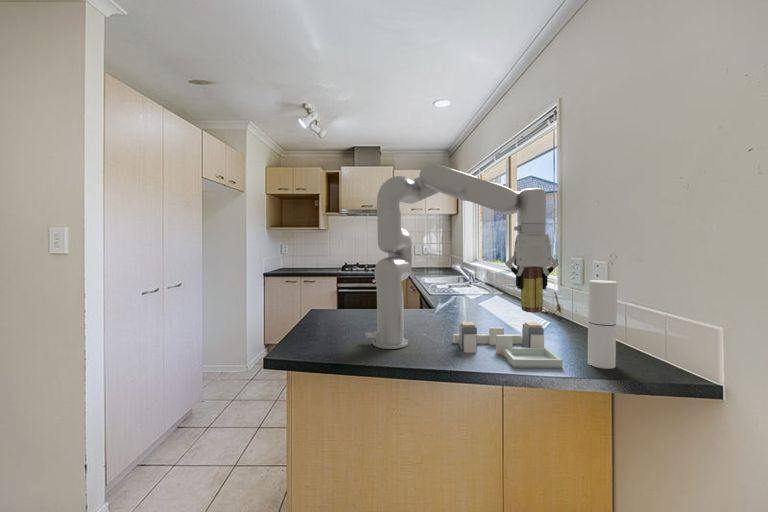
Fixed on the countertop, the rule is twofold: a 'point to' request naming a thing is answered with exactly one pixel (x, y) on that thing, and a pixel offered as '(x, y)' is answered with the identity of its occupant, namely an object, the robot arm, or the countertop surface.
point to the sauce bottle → (532, 290)
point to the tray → (532, 358)
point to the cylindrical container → (602, 323)
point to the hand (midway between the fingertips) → (531, 288)
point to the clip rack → (498, 337)
